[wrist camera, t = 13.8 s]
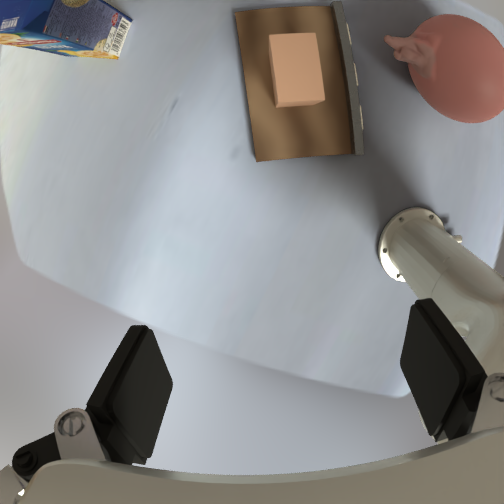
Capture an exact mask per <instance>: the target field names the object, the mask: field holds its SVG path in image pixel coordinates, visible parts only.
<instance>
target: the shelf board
mask: <svg viewBox="0 0 504 504" xmlns="http://www.w3.org/2000/svg"><path fill="white" fill-rule="evenodd" d="M235 17H236V24H237V30H238V37H239V43H240V50H241V57H242V63H243V70H244V77H245V84H246V91H247V98H248V105H249V112H250V119H251V126H252V134H253V141H254V148H255V156H256V162H261V161H270V160H279V159H289V158H299V157H311V156H324V155H339V154H352V153H351V141H350V130H349V121H348V111H347V103H346V95H345V88H344V81H343V74H342V67H341V61H340V55H339V49H338V44H337V39H336V33H335V28H334V23H333V19H332V14H331V9H330V6H299V7H279V8H267V9H257V10H248V11H241V12H235ZM291 33H316V39H317V45H318V51H319V58H320V64H321V71H322V79H323V86H324V94H325V100H324V101H322V102H320V103H317V104H315V105H309V106H292V107H280V108H276V105H275V97H274V89H273V82H272V74H271V67H270V60H269V53H268V50H269V35H275V34H291Z"/></svg>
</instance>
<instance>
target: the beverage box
mask: <svg viewBox="0 0 504 504" xmlns="http://www.w3.org/2000/svg"><path fill="white" fill-rule="evenodd" d="M131 23H132V19H130V18H129V17H127V16H126V15H124V14H123V13H122V12H120V11H119V10H117V9H115V8H114V7H112V6H111V5H109V4H108V3H106V2H105V1H103V0H0V44H4V45H11V46H18V47H24V48H29V49H35V50H40V51H45V52H50V53H54V54H59V55H63V56H77V57H96V58H109V59H118V58H119V55H120V52H121V49H122V47H123V44H124V41H125V38H126V36H127V33H128V30H129V28H130V25H131Z"/></svg>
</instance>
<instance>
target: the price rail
mask: <svg viewBox="0 0 504 504" xmlns="http://www.w3.org/2000/svg"><path fill="white" fill-rule="evenodd" d="M330 9H331V14H332V19H333V23H334V28H335V33H336V39H337V44H338V49H339V55H340V61H341V67H342V74H343V81H344V88H345V95H346V103H347V111H348V121H349V130H350V141H351V153H352V154H354V155H364V145H363V133H362V129H363V120H362V111H361V106H360V104H359V96H358V88H357V86H358V79H357V73H356V66H355V63H354V62H353V56H352V50H351V44H352V43H351V38H350V33H349V28H348V24H346V20H345V15H344V11H343V6H342V2H340V1H333V2H332V3H331V5H330Z"/></svg>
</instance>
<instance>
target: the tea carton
mask: <svg viewBox="0 0 504 504" xmlns="http://www.w3.org/2000/svg"><path fill="white" fill-rule="evenodd" d="M268 53H269V60H270V67H271V74H272V82H273V89H274V97H275V105H276V108H280V107H292V106H309V105H315V104H317V103H320V102H322V101H324V100H325V94H324V86H323V79H322V71H321V64H320V58H319V51H318V45H317V39H316V33H291V34H275V35H269V50H268Z"/></svg>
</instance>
